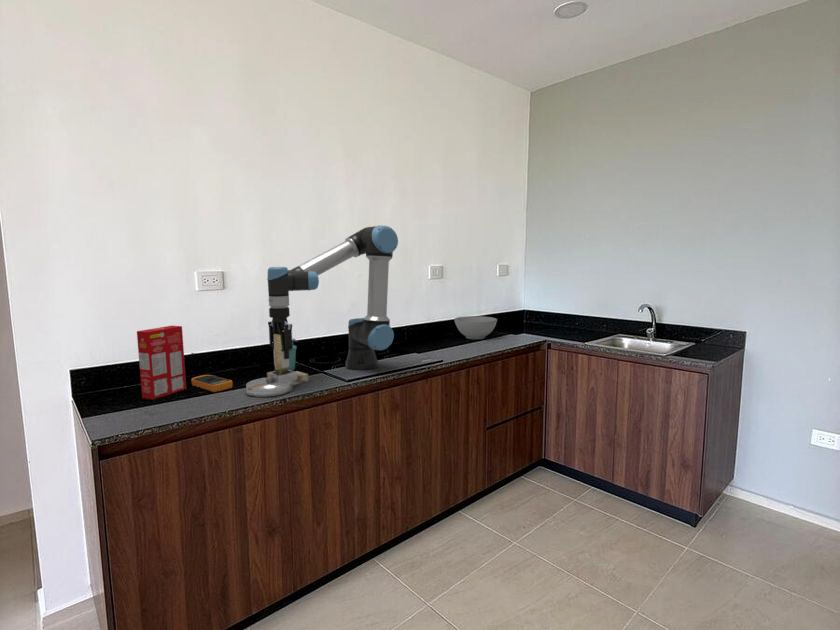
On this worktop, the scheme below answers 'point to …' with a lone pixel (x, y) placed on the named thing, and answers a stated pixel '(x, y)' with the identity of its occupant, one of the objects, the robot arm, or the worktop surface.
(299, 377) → the key block
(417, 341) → the worktop surface
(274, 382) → the grey flat rounded piece
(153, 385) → the food packaging
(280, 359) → the tan cylinder
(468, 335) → the decorative bowl
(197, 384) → the multimeter
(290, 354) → the cup
